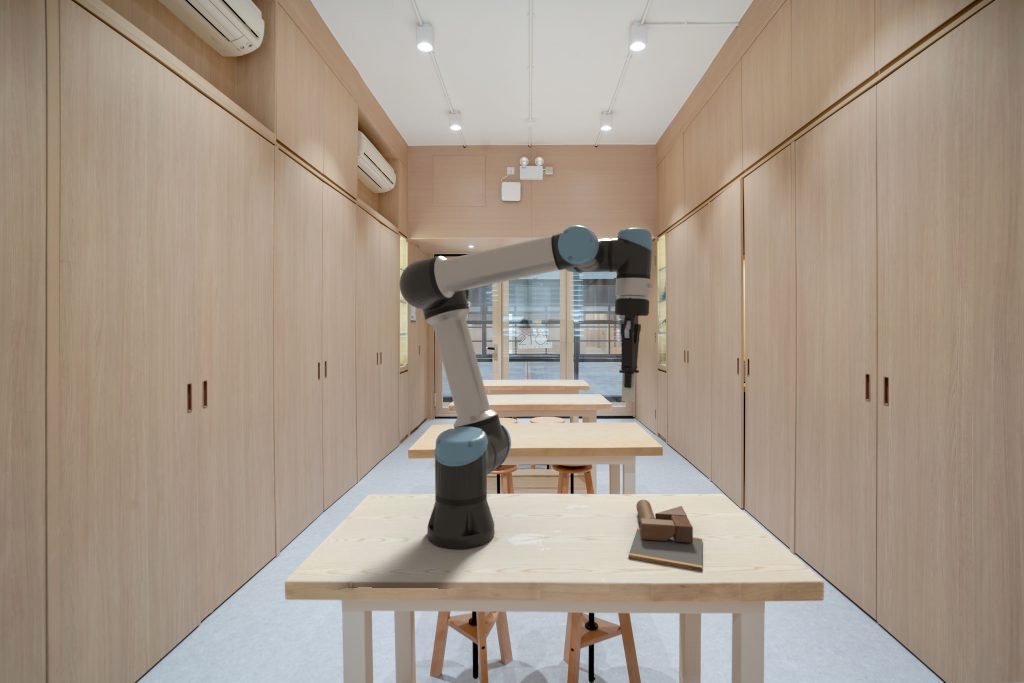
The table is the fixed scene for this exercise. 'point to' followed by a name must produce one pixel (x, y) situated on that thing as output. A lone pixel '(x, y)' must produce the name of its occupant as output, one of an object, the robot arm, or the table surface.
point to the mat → (668, 552)
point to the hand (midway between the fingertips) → (627, 401)
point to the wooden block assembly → (664, 524)
